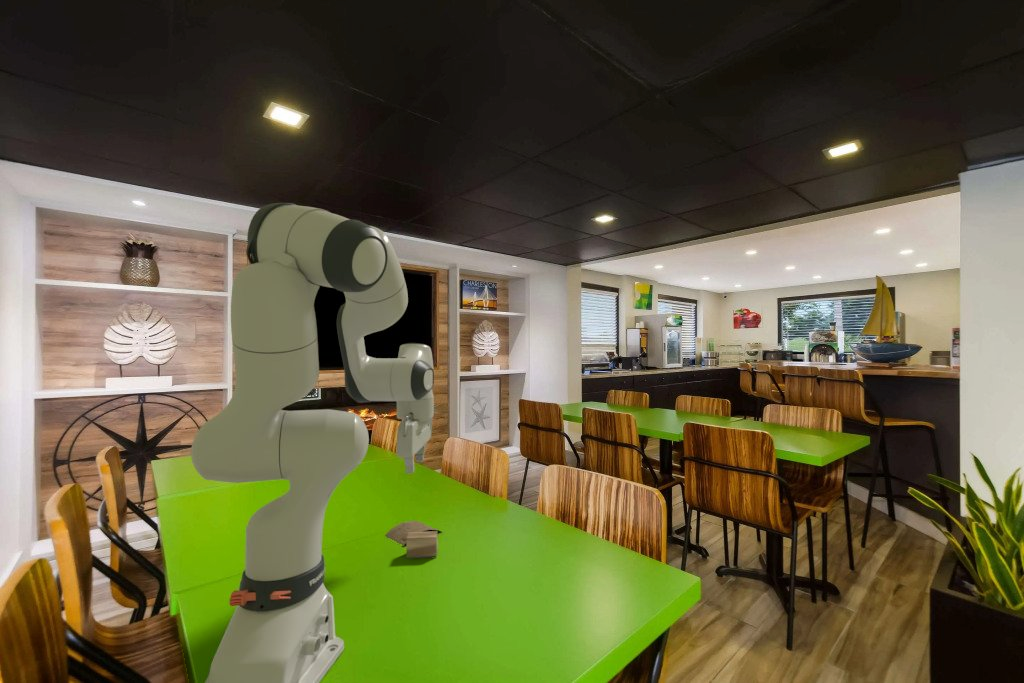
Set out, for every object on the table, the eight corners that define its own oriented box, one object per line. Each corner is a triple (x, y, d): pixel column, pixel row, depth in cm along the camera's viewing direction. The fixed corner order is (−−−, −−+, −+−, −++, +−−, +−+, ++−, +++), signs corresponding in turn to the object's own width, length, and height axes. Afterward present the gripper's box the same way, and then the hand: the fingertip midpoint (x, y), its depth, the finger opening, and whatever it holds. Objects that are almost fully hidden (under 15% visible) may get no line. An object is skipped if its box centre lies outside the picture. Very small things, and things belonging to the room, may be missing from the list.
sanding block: (436, 558, 105) (436, 536, 105) (406, 559, 104) (406, 538, 104) (437, 551, 108) (437, 531, 109) (408, 552, 108) (408, 532, 108)
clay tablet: (401, 550, 110) (401, 539, 110) (379, 539, 117) (379, 529, 117) (446, 533, 121) (446, 523, 121) (423, 524, 128) (423, 514, 128)
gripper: (417, 417, 97) (417, 480, 96) (436, 404, 117) (436, 456, 117) (389, 416, 97) (389, 479, 97) (412, 404, 117) (412, 456, 117)
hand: (415, 466), depth 107 cm, fingers open, 8 cm apart
